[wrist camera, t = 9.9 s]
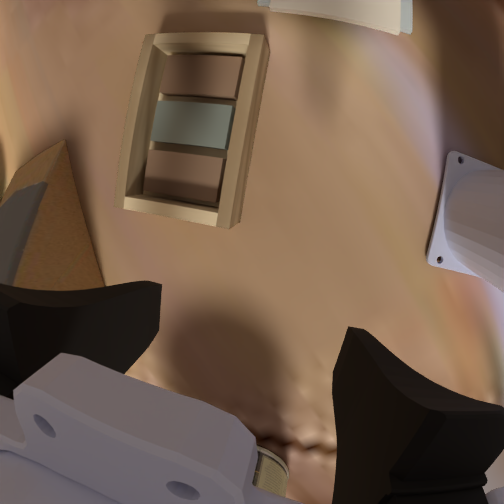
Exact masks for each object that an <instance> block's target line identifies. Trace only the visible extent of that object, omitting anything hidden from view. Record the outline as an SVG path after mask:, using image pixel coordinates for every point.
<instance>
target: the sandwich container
mask: <svg viewBox="0 0 504 504" xmlns="http://www.w3.org/2000/svg"><path fill="white" fill-rule="evenodd" d="M0 283H1V284H5V285H10V286H14V287H20V288H27V289H35V290H54V291H68V290H84V289H92V288H99V287H105V286H104V283H103V280H102V277H101V274H100V271H99V267H98V264H97V261H96V257H95V254H94V250H93V247H92V243H91V239H90V236H89V233H88V230H87V226H86V223H85V219H84V216H83V212H82V209H81V205H80V201H79V197H78V194H77V190H76V186H75V181H74V177H73V173H72V169H71V164H70V160H69V155H68V150H67V145H66V140H62V141H60V142H58V143H57V144H55V145H53V146H52V147H50V148H48V149H47V150H45V151H43V152H42V153H40V154H38V155H37V156H35V157H34V158H33V159H32V160H30V161H29V162H28V163H26V164H25V165H24V166H23V167H21V168H20V169H19V170H18V171H16V172H15V174H14V176H13V178H12V180H11V182H10V184H9V186H8V188H7V190H6V192H5V194H4V196H3V198H2V200H1V202H0Z"/></svg>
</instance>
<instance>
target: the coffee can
mask: <svg viewBox="0 0 504 504" xmlns="http://www.w3.org/2000/svg"><path fill="white" fill-rule="evenodd" d="M257 453H258V460H257V464H256V468H255V473H254V477H253V482H252V484H253V485H254V486H256V487H259V488H261V489H264V490H266V491H269V492H272V493H274V494H277V495H280V496H283V497H285V495H286V487H287V481H288V478H289V471H288V468H287V466H286V464H285V463H284V462H283V461H282V459H281V458H280V457H278V456H277V455H275V454H274V453H272V452H270V451H269V450H267V449H265V448H262V447H260V446H257Z"/></svg>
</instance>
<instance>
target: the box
mask: <svg viewBox="0 0 504 504" xmlns="http://www.w3.org/2000/svg"><path fill="white" fill-rule="evenodd" d="M269 56H270V51H269V48H268V45H267V42H266V39H265V36H264V35H262V34H249V33H229V32H180V33H160V34H147V35H145V38H144V42H143V45H142V49H141V53H140V56H139V60H138V64H137V68H136V72H135V77H134V81H133V86H132V90H131V95H130V100H129V104H128V110H127V115H126V120H125V126H124V132H123V138H122V144H121V150H120V157H119V165H118V172H117V181H116V190H115V199H114V207H117V208H122V209H127V210H133V211H138V212H143V213H149V214H154V215H159V216H165V217H170V218H175V219H180V220H185V221H190V222H196V223H201V224H206V225H211V226H216V227H221V228H226V229H230V228H232V227H233V226H235V225H236V224H238V223H239V222H240V218H241V212H242V207H243V201H244V195H245V189H246V183H247V177H248V171H249V166H250V160H251V154H252V149H253V143H254V137H255V132H256V126H257V121H258V115H259V110H260V104H261V99H262V93H263V88H264V83H265V77H266V72H267V67H268V61H269Z"/></svg>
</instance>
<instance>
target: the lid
mask: <svg viewBox="0 0 504 504" xmlns="http://www.w3.org/2000/svg"><path fill="white" fill-rule="evenodd" d="M269 9H270V11H272V12H282V13H292V14H300V15H307V16H314V17H320V18H326V19H332V20H337V21H342V22H347V23H352V24H356V25H361V26H365V27H369V28H373V29H377V30H380V31H384V32H388V33H391V34H395V35H398V34H399V33H400V20H401V0H271V1H270V5H269Z"/></svg>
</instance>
